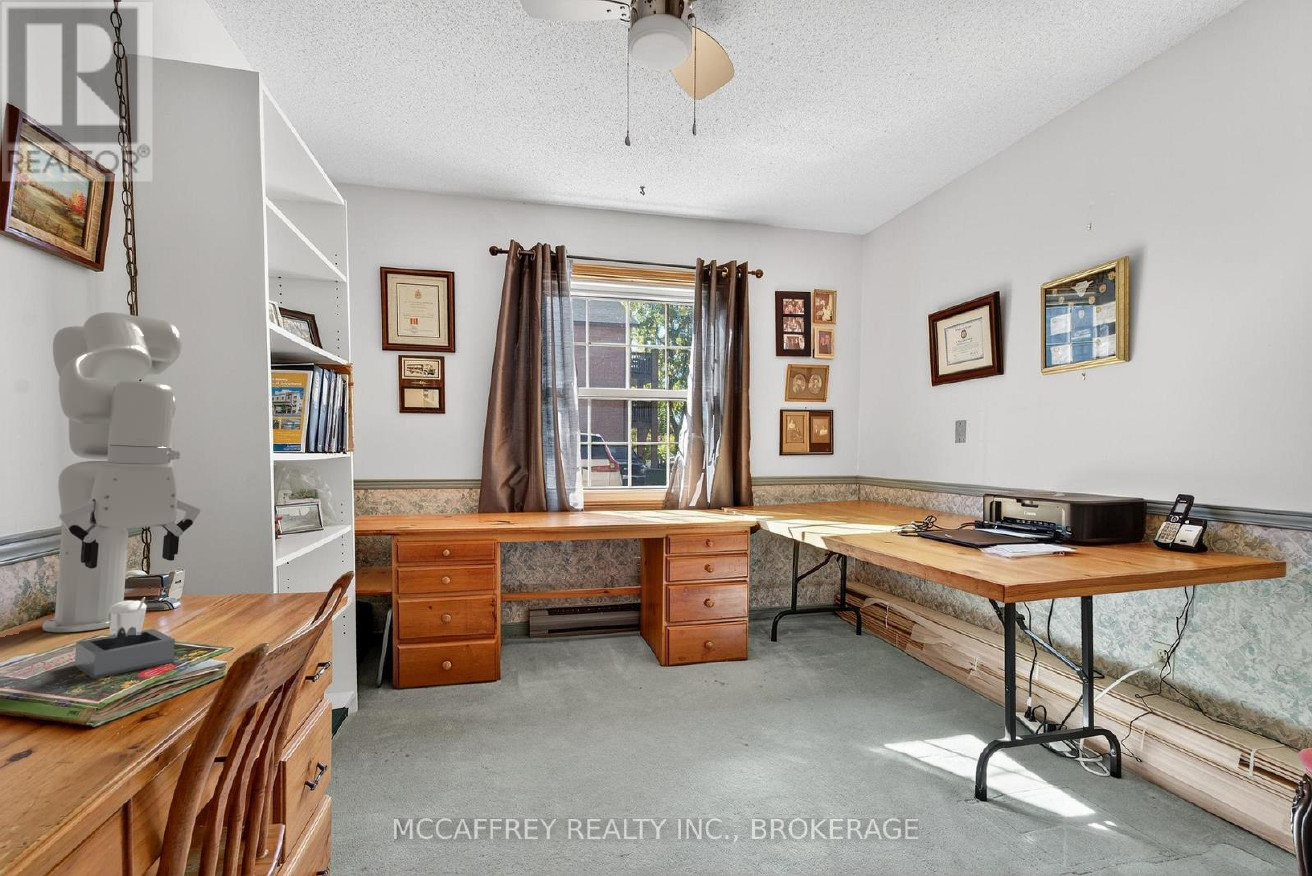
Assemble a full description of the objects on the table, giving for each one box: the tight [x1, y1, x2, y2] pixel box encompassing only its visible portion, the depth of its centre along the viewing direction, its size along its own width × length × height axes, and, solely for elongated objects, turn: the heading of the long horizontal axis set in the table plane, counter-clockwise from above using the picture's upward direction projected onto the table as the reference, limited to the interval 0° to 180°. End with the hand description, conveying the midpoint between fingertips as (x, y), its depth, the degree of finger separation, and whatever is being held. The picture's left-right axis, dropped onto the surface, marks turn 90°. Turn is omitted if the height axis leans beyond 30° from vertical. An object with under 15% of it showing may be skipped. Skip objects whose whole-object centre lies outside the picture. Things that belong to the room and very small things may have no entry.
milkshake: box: [108, 597, 148, 649], centre depth 94 cm, size 4×5×10 cm
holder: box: [74, 628, 176, 680], centre depth 93 cm, size 10×10×4 cm
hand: (131, 563), depth 94 cm, fingers open, 9 cm apart
